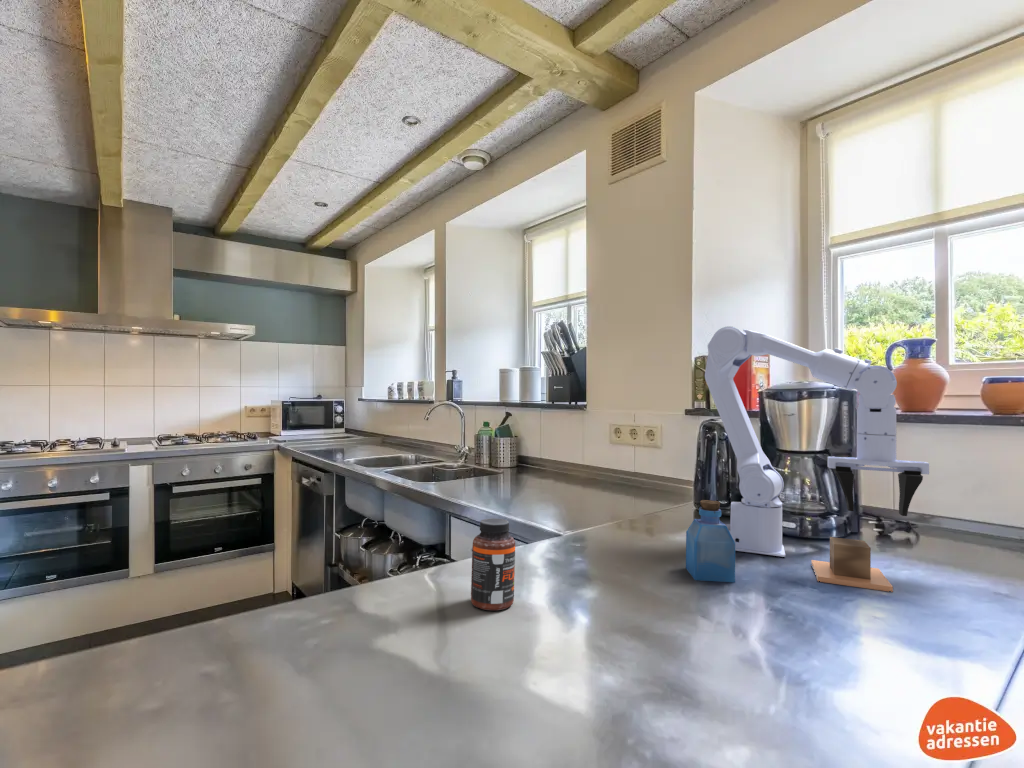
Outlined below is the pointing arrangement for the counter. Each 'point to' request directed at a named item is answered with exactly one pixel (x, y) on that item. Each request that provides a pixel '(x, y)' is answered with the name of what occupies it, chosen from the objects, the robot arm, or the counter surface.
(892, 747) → the counter surface
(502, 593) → the supplement bottle
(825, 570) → the plate
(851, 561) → the cube
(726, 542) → the perfume bottle
